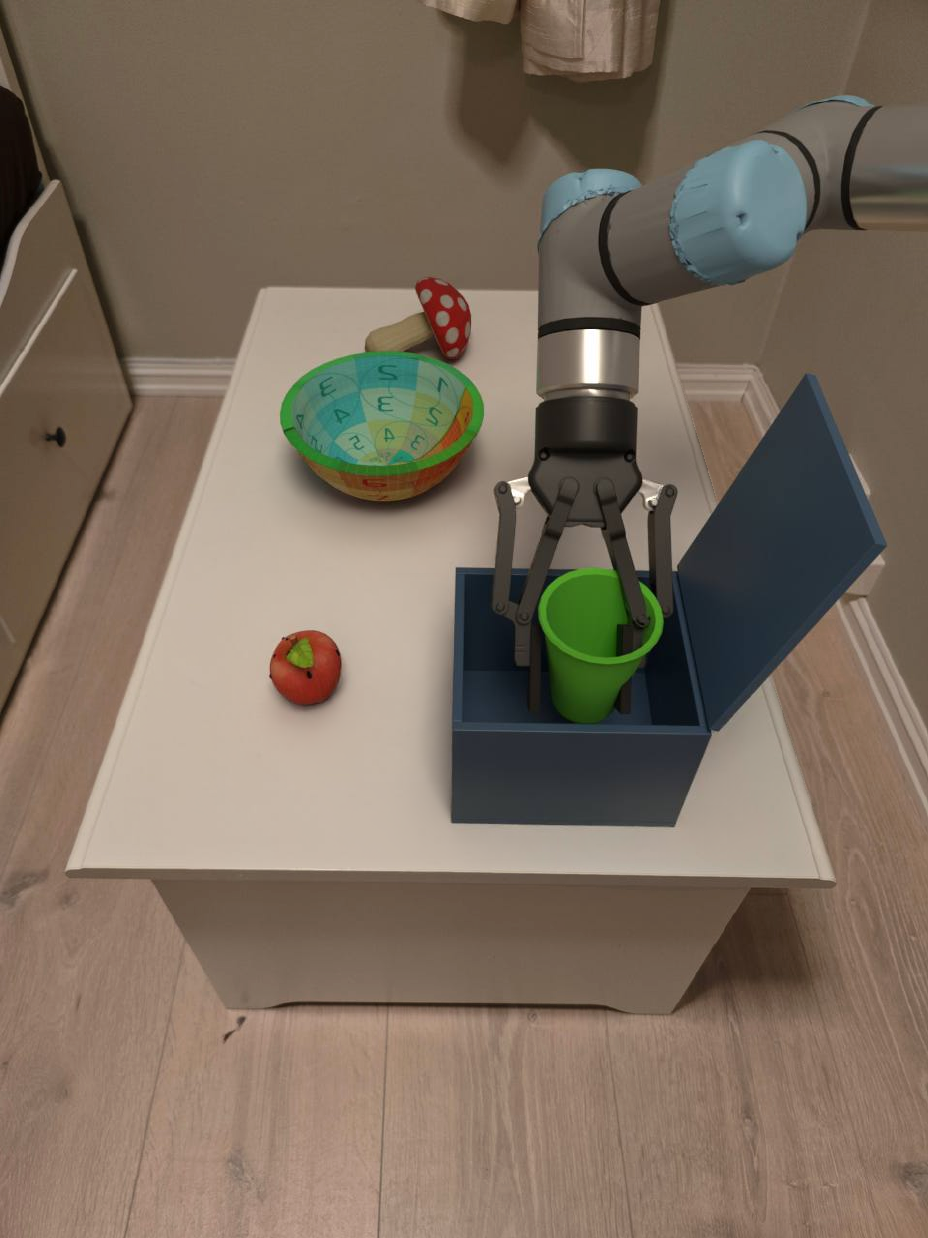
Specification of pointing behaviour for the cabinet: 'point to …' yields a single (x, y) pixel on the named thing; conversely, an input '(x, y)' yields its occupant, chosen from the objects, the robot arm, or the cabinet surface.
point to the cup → (590, 641)
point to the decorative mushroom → (428, 322)
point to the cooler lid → (775, 552)
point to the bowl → (382, 422)
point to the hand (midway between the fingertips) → (577, 709)
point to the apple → (306, 667)
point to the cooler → (568, 726)
